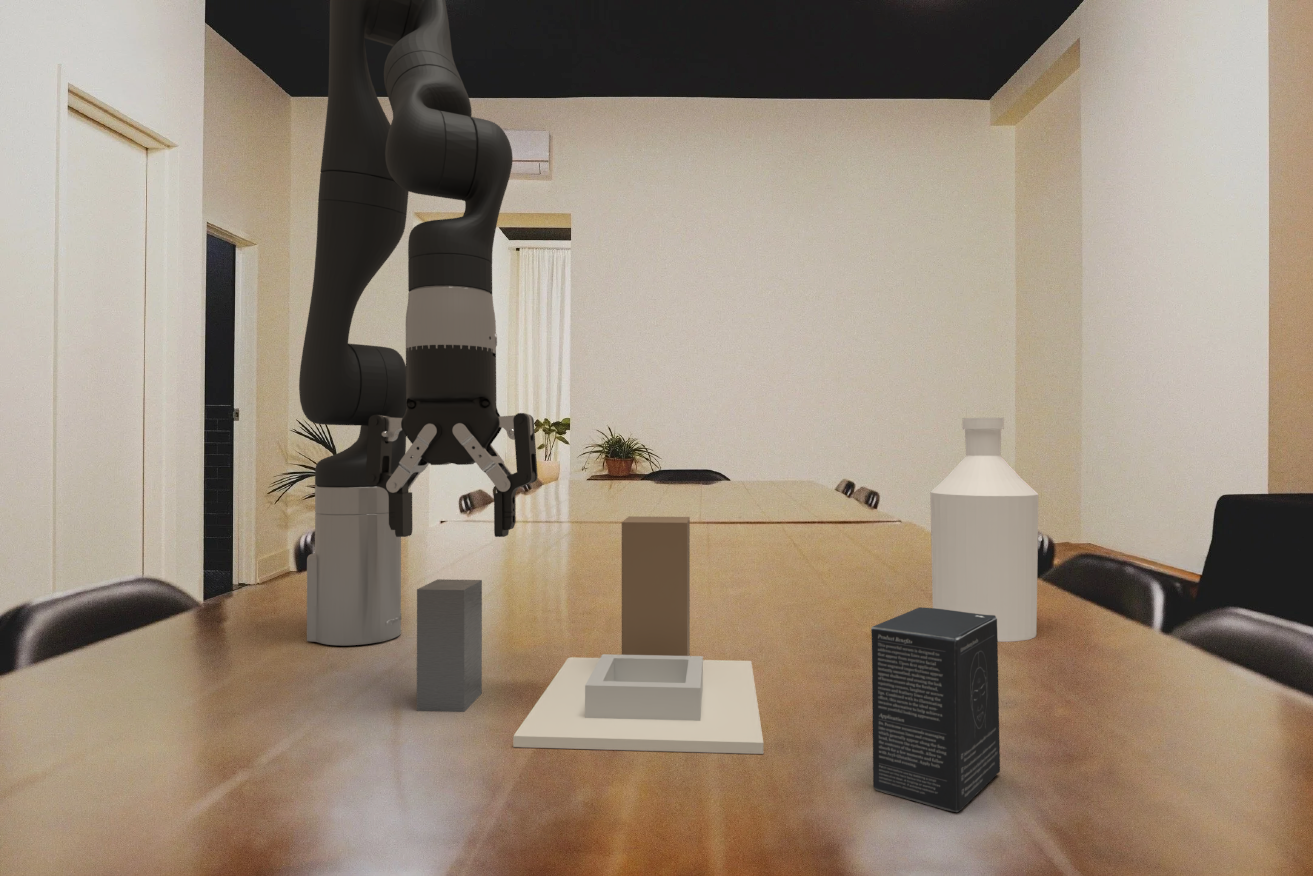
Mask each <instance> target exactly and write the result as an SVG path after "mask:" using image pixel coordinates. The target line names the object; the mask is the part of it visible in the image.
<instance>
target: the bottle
mask: <svg viewBox="0 0 1313 876" xmlns="http://www.w3.org/2000/svg"><path fill="white" fill-rule="evenodd" d="M1004 421H1005V418H1004V417H963V418H962V430H964V433H965V434H964V437H965V440H964V441H965V442H964V443H965V456H964V457H962V459H961V460H960V462H958V464H956V466H955V467H954V468H953V469H952V470H951V471H950V473H948V475H946V477H945V478H944V479H943V480H941V481H940V482H939V483H938V484H937V485H936V486H935V487H934V488H933V489H932V490H931V491H929V492H930V494H929V495H930V501H929V502H930V537H931V541H930V542H931V543H930V544H931V545H930V546H931V550H930V551H931V578H932V579H931V583H932V585H931V587H932V588H931V591H932V592H931V593H932V594H931V595H932V608H936V609H944V610H952V611H960V612H967V613H975V614H983V615H995V616H996V618H997V639H998V642H999V643H1001V642H1007V643H1010V642H1022V641H1028V640H1032V639H1034V638H1036V637H1037V620H1038V619H1037V618H1038V617H1037V616H1038V615H1037V614H1038V560H1039V559H1038V555H1039V554H1038V551H1039V547H1038V544H1039V493H1038V492H1037V491H1035V489H1034V488H1033V487H1032V486H1030V485H1029V484H1028V483H1027V482H1026V481H1025V480H1024V479H1022V477H1020V475H1019V474H1018V473H1017V472H1016V471H1015V469H1014V468H1012V467H1011V466H1010V464H1009V463H1008V462H1007V461H1006V460H1005V459H1004V458H1003V457H1002V456H1001V455H1002V454H1001V453H1002V452H1001V451H1002V441H1001V440H1002V430H1004V428H1005V426H1004V425H1005V424H1004V423H1005V422H1004Z"/></svg>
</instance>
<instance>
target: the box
mask: <svg viewBox="0 0 1313 876" xmlns="http://www.w3.org/2000/svg"><path fill="white" fill-rule="evenodd" d="M870 632H871V633H870V634H871V675H872V677H871V678H872V679H871V683H872V684H871V685H872V688H871V691H872V694H871V696H872V702H871V703H872V704H871V705H872V774H873V775H872V776H873V777H872V783H873V784H872V786H873V788H874V789H875V791H878V792H882V793H884V794H888V795H892V796H896V797H899V798H902V799H906V800H910V801H914V802H917V803H918V804H919V803H920V804H924V805H927V806H930V807H934V808H937V809H940V810H945V811H948V812H954V813H959V812H960V811H962V809H963V808H964V807H965V806H967V804H968V803H970V802H971V801H972V799H974V798H975V796H976V795H978V794H979V793H980V791H982V790H983V789H984V788H985V787H986V786H987V785H988V784H989V783H990V782H991V781H992V780H993V779H994V778H995V777H996V776H997V775H998V774H999V773H1000V772H1001V760H1000V759H1001V758H1000V757H1001V753H1000V744H1001V743H1000V742H1001V741H1000V712H999V711H1000V710H999V709H1000V703H999V701H1000V697H999V655H998V654H999V652H998V650H999V649H998V648H999V646H998V639H997V618H996V616H995V615H983V614H975V613H967V612H960V611H952V610H944V609H936V608H933V607H917V608H915V609H911V610H910V611H907V612H905V613H901V614H900V615H898V616H895V617H892V618H890V619H887V620H885V621H883V622H881V623H878V624H876V625H872V627H871V631H870Z"/></svg>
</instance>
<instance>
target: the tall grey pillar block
mask: <svg viewBox="0 0 1313 876" xmlns="http://www.w3.org/2000/svg"><path fill="white" fill-rule="evenodd" d="M482 588H483V580H482V579H441V578H440V579H439V578H438V579H436V580H434V581H431V582H429V583H427V584H425V585H423V586H421V587H418V588H417V589H416V711H417V712H451V713H452V712H455V713H456V712H457V713H458V712H459V713H465V712H466V711H467V710H468V709H469V707H470V706H472V705H473V703H474V702H475V701H476V700H477V699H478V698H479V697H480V696H481V695H482V693H483V691H482V689H483V686H482V685H483V684H482V683H483V679H482V678H483V673H482V672H483V670H482V669H483V665H482V664H483V661H482V660H483V659H482V658H483V652H482V651H483V650H482V649H483V648H482V647H483V639H482V637H483V623H482V622H483V617H482V615H483V613H482V612H483V589H482Z"/></svg>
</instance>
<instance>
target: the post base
mask: <svg viewBox="0 0 1313 876" xmlns="http://www.w3.org/2000/svg"><path fill="white" fill-rule="evenodd" d="M690 523H691V522H690V516H635V515H634V516H631V515H629V516H627V517H626V518H625V519H624V520H622V521H621V654H611V653H610V654H606V653H605V654H603V653H602V654H601V656H600V657H574V656H573V657H572V656H570V657H568V658H566V660H565V662H564V663H563V665H562V666H561V667H560V669H559V671H558V672H557V674H556V675H555V676H554V677H553V679H552V680H551V682H550V683H549V685H548V686H547V687H546V688H545V690H544V692H543V693H542V695H541V696H540V698H539V699H538V700H537V701H536V703H535V705H534V706H533V708H532V709H531V710H530V711H529V713H528V714H527V716H525V719H524V720H523V722H522V723H521V724H520V726H519V728H518V729H517V730H516V732H515V733H514V734H513V739H512V741H513V744H512V747H513V748H531V749H535V748H537V749H541V748H542V749H568V750H569V749H570V750H571V749H572V750H574V749H576V750H602V751H603V750H606V751H607V750H608V751H609V750H610V751H613V750H614V751H644V752H646V751H647V752H676V753H677V752H679V753H680V752H682V753H686V752H687V753H711V754H712V753H713V754H716V753H717V754H748V755H749V754H750V755H751V754H752V755H754V754H755V755H764V739H763V738H764V737H763V730H762V726H761V725H762V723H761V718H760V711H759V704H758V697H757V691H756V685H755V677H754V670H753V665H752V664H753V662H752V660H731V659H730V660H727V659H726V660H724V659H723V660H722V659H721V660H719V659H717V660H716V659H704V656H703V655H702V656H701V655H690V654H691V652H690V651H691V650H690V649H691V648H690V644H691V643H690V641H691V638H690V636H691V635H690V634H691V630H690V628H691V627H690V621H691V620H690V619H691V618H690V617H691V616H690V614H691V613H690V607H691V605H690V604H691V603H690V602H691V600H690V599H691V598H690V597H691V593H690V592H691V591H690V590H691V589H690V586H691V585H690V583H691V582H690V577H691V576H690V574H691V573H690V571H691V570H690V568H691V567H690V565H691V563H690V561H691V560H690V559H691V558H690V554H691V553H690V552H691V551H690V550H691V549H690V546H691V545H690V543H691V540H690V534H691V533H690V531H691V530H690V528H691V527H690Z"/></svg>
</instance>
